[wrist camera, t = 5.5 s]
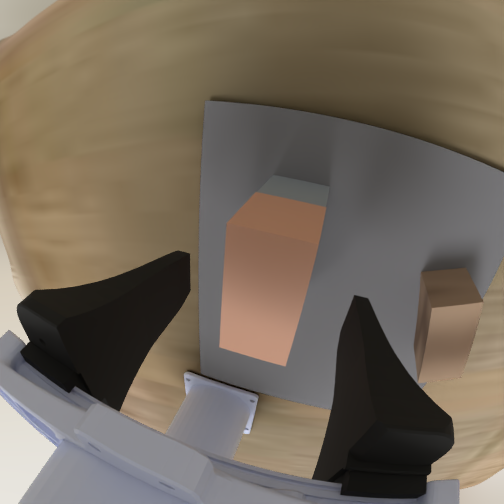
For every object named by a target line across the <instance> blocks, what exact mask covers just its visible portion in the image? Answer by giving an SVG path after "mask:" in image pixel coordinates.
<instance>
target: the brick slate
mask: <svg viewBox="0 0 504 504" xmlns="http://www.w3.org/2000/svg"><path fill="white" fill-rule="evenodd" d="M329 188H330V187H329V186H325V185H320V184H316V183H311V182H306V181H302V180H297V179H292V178H287V177H282V176H277V175H273V176H272V177H271V178H270V179H269V180H268V181H267V182H266V183H265V184H264V185H263V186H262V187H261V188H260V189H259V190H258V191H257V192H259V193H264V194H269V195H273V196H278V197H283V198H288V199H292V200H297V201H301V202H306V203H310V204H314V205H319V206H323V207H326V204H327V199H328V194H329Z"/></svg>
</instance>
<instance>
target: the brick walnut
mask: <svg viewBox="0 0 504 504" xmlns="http://www.w3.org/2000/svg"><path fill="white" fill-rule="evenodd" d="M482 307H483V300H482V298H481V296H480V294H479V292H478V290H477V288H476V286H475V284H474V282H473V280H472V278H471V276H470V274H469V272H468V271H467V269H466V268H457V269H446V270H435V271H424V272H421V278H420V292H419V304H418V314H417V323H416V331H415V338H414V345H413V346H414V353H415V361H416V370H417V380H418V383H425V382H434V381H442V380H450V379H457V378H461V376H462V374H463V371H464V368H465V365H466V362H467V359H468V356H469V353H470V350H471V347H472V344H473V340H474V337H475V334H476V330H477V326H478V323H479V319H480V315H481V311H482Z"/></svg>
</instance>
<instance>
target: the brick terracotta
mask: <svg viewBox="0 0 504 504" xmlns="http://www.w3.org/2000/svg"><path fill="white" fill-rule="evenodd" d="M325 212H326V207H323V206H319V205H314V204H310V203H306V202H301V201H297V200H292V199H288V198H283V197H278V196H273V195H269V194H264V193H259V192H255V193H254V194H253V195H252V196H251V198H250V199H249V200H248V201H247V202H246V203H245V204H244V205H243V206H242V207H241V208H240V209H239V210H238V211H237V212H236V214H235V215H234V216H233V217H232V218H231V219H230V220H229V221H228V222H227V226H226V240H225V255H224V271H223V287H222V305H221V324H220V344H219V347H220V348H224V349H227V350H230V351H233V352H236V353H240V354H243V355H246V356H250V357H253V358H256V359H260V360H263V361H267V362H271V363H274V364H278V365H282V366H286V363H287V360H288V356H289V353H290V350H291V346H292V343H293V340H294V336H295V333H296V329H297V326H298V322H299V319H300V315H301V312H302V308H303V304H304V301H305V297H306V293H307V289H308V286H309V282H310V278H311V274H312V270H313V266H314V262H315V258H316V254H317V250H318V246H319V241H320V237H321V232H322V227H323V222H324V217H325Z"/></svg>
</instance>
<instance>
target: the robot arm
mask: <svg viewBox="0 0 504 504" xmlns="http://www.w3.org/2000/svg"><path fill="white" fill-rule="evenodd" d="M190 290H191V289H190V254H189V253H185V252H182V251H175V252H172V253H170V254H168V255H165V256H163V257H161V258H158V259H156V260H154V261H152V262H149V263H147V264H145V265H143V266H140V267H138V268H136V269H133V270H131V271H128V272H126V273H123V274H121V275H118V276H115V277H112V278H109V279H105V280H102V281H98V282H94V283H90V284H85V285H81V286H75V287H69V288H61V289H45V290H34V291H33V292H32V293H31V294H30V295H29V296H27V297H26V298H25V299H24V300H23V301H22V302H20V303H19V304H18V306H17V313H18V317H19V320H20V322H21V324H22V326H23V328H24V330H25V332H26V334H27V336H28V338H29V340H30V342H29V343H28V344H27V345H25V343H24V342H23V341H22V340H21V339H20V338H19V337H17V336H16V335H15V334H14V333H13V332H11V331H10V330H8V331H7V332H6V333H5V334H4V335H3V336H2V337H1V338H0V395H1V396H2V397H3V398H4V399H5V400H6V401H7V402H8V403H9V404H10V405H11V406H12V407H13V408H14V409H15V410H16V411H17V412H18V413H19V414H20V415H21V416H22V417H23V418H25V420H27V421H28V422H29V423H30V424H31V425H32V426H33V427H34V428H36V430H38V431H39V432H40V433H41V434H42V435H43V436H45V437H46V438H47V439H48V440H49V441H51V442H52V443H53V444H54V445H55V446H57V449H56V450H55V451H54V453H53V455H52V456H51V457H50V458H49V460H48V461H47V463H46V464H45V466H44V467H43V468H42V470H41V471H40V473H39V474H38V476H37V477H36V479H35V480H34V481H33V483H32V484H31V486H30V487H29V489H28V490H27V492H26V493H25V495H24V496H23V498H22V499H21V500H20V502H19V504H459V480H458V479H452V480H436V481H430V482H427V475H429V474H430V473H431V464H432V463H434V462H435V461H436V460H438V459H439V458H441V457H442V456H443V455H445V454H446V453H447V452H448V451H449V450H450V449H451V448H452V446H453V445H454V429H453V422H452V418H451V417H450V416H449V415H448V414H447V413H446V412H445V411H444V410H442V409H441V408H440V407H439V406H438V405H437V404H436V403H435V402H434V401H433V400H432V399H431V398H430V397H429V396H428V395H427V394H426V393H425V392H424V391H423V390H422V389H421V388H420V386H419V385H418V384H417V383H416V382H415V380H414V379H413V378H412V377H411V375H410V374H409V373H408V371H407V370H406V369H405V367H404V366H403V364H402V363H401V361H400V360H399V358H398V357H397V355H396V354H395V352H394V350H393V348H392V347H391V345H390V343H389V341H388V339H387V337H386V335H385V333H384V331H383V329H382V327H381V325H380V323H379V321H378V319H377V316H376V314H375V312H374V310H373V307H372V305H371V303H370V301H369V299H368V298H366V297H361V296H357V295H354V297H353V300H352V302H351V305H350V308H349V310H348V313H347V315H346V318H345V320H344V323H343V326H342V328H341V331H340V336H339V342H338V348H337V357H336V372H335V386H334V396H333V404H332V408H331V413H330V418H329V422H328V426H327V430H326V434H325V438H324V442H323V445H322V449H321V452H320V456H319V459H318V462H317V465H316V468H315V471H314V474H313V477H312V479H308V478H303V477H297V476H293V475H288V474H283V473H279V472H275V471H271V470H267V469H263V468H259V467H255V466H252V465H248V464H245V463H242V462H238V461H235V460H233V458H234V455H235V453H236V450H237V448H238V445H239V443H240V440H241V438H242V435H243V433H245V434H249V433H250V431H251V427H252V423H253V419H254V415H255V410H256V406H257V402H258V398H259V397H258V395H257V394H255V393H251V392H248V391H245V390H241V389H238V388H235V387H232V386H229V385H225V384H222V383H219V382H216V381H213V380H211V379H208V378H205V377H202V376H199V375H196V374H194V373H191V372H185V373H184V381H185V389H186V397H185V399H184V401H183V403H182V404H181V406H180V408H179V410H178V412H177V413H176V415H175V417H174V419H173V421H172V422H171V424H170V426H169V428H168V429H167V431H166V433H165V434H163V433H161V432H159V431H157V430H154V429H152V428H150V427H148V426H146V425H144V424H142V423H140V422H138V421H136V420H134V419H132V418H130V417H128V416H126V415H124V414H122V413H120V412H119V411H120V409H121V407H122V404H123V402H124V399H125V397H126V395H127V393H128V390H129V388H130V386H131V384H132V382H133V380H134V378H135V376H136V374H137V372H138V370H139V368H140V366H141V364H142V363H143V361H144V359H145V357H146V356H147V354H148V352H149V350H150V349H151V347H152V346H153V344H154V343H155V341H156V340H157V339H158V337H159V336H160V335H161V333H162V332H163V331H164V330H165V328H166V327H167V326H168V324H169V323H170V322H171V320H172V319H173V318H174V316H175V315H176V314H177V312H178V311H179V310H180V308H181V307H182V305H183V303H184V302H185V300H186V298H187V296H188V294H189V292H190Z"/></svg>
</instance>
